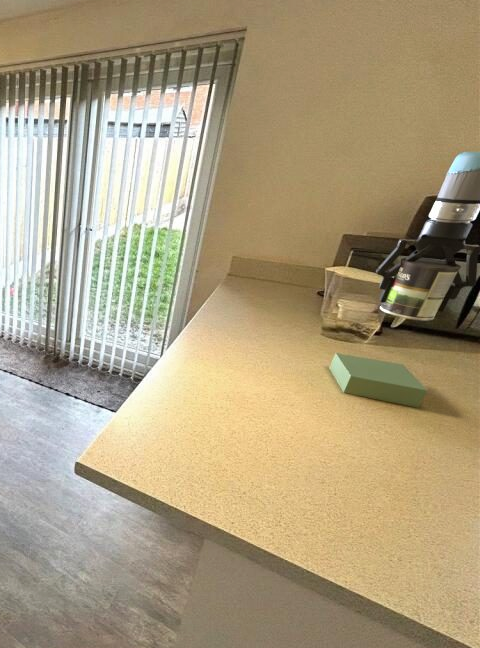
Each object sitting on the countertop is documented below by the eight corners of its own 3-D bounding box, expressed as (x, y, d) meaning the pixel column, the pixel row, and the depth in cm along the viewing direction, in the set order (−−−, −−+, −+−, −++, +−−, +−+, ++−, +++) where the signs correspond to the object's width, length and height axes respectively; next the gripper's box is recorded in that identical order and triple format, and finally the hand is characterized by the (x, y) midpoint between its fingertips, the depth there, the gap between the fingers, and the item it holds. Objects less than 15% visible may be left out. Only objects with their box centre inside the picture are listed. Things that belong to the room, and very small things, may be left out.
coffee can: (388, 316, 103) (412, 264, 97) (373, 304, 111) (393, 255, 105) (443, 323, 98) (471, 269, 93) (423, 309, 107) (447, 259, 101)
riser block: (395, 380, 106) (403, 364, 104) (418, 407, 95) (427, 390, 93) (329, 368, 112) (335, 352, 110) (343, 392, 101) (350, 376, 99)
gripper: (386, 218, 99) (353, 300, 108) (530, 227, 86) (478, 320, 95) (383, 214, 104) (351, 293, 113) (518, 222, 91) (470, 311, 100)
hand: (409, 305), depth 104 cm, fingers closed on coffee can, 10 cm apart
